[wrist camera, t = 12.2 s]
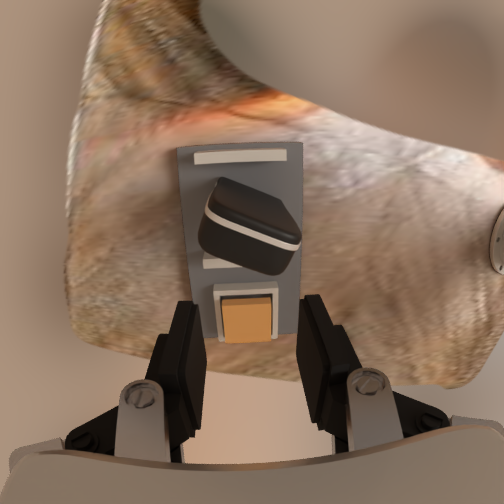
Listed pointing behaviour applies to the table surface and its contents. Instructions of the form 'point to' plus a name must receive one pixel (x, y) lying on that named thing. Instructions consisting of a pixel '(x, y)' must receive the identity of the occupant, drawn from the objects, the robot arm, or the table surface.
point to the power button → (247, 320)
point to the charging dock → (226, 273)
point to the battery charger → (248, 228)
